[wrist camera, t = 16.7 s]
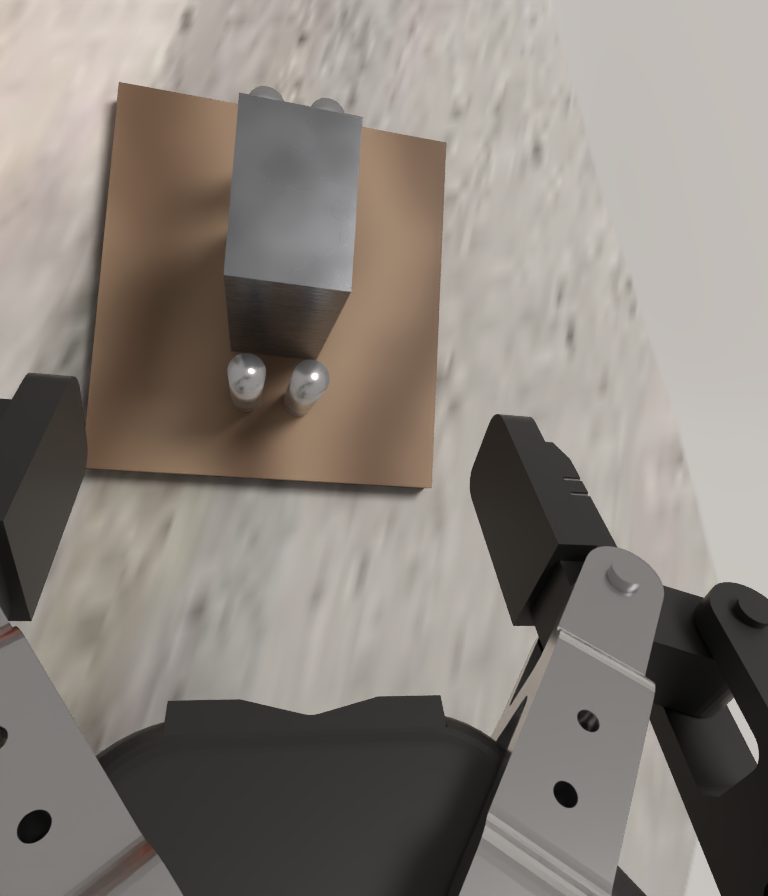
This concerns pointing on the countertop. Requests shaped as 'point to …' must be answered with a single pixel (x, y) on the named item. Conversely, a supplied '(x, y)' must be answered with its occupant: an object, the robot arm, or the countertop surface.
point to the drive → (290, 226)
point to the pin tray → (206, 322)
